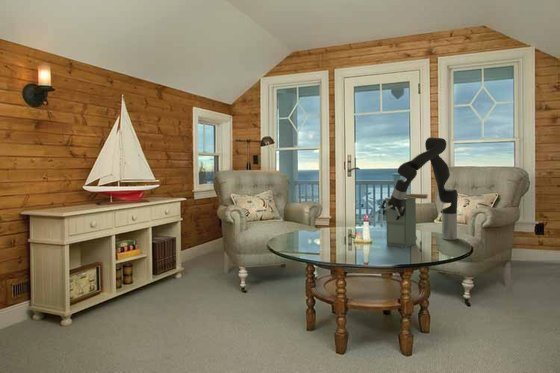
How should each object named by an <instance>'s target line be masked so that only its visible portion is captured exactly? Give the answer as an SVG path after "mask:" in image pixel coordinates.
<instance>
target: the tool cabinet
mask: <svg viewBox="0 0 560 373" xmlns="http://www.w3.org/2000/svg"><path fill="white" fill-rule="evenodd" d="M390 198H391V196H388V197H385V198H384V199H387V200H388V201H389V200H390ZM417 199H418V198H404V200H403V203H402V206H404V207H405V206H406V210H405V213H404V216H400V217H399V220H396V218H397V216H398V213H397V211H396V210H393V209H391V208H389V209H386V212H385V215H386V218H385V219H386V246H389V247H398V248H405V249H407V248H409V247H412V246H414V245H417V239H416V237H417V227H416V226H417V224H416V223H417V214H416V213H417V210H416V208H417V206H416V204H417V202H416V200H417ZM385 205H386V206H387V205H388V203H385ZM386 206H385V207H386ZM400 212H401V213H402V212H403V210H402V208H400Z"/></svg>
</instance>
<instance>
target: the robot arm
mask: <svg viewBox="0 0 560 373" xmlns="http://www.w3.org/2000/svg"><path fill="white" fill-rule="evenodd" d="M424 143H425V144H424V145H425V151H423V152H420V153H418V154H417V155H415V156H414V157H413V158H412V159H411V160H408V161H406V162H403V163H402V164H400V165H399V167H398V169H397V174H398V175H399V176H401V177H403V178H399V179H397V181H396V183H395V186H394V188H393V191H392V192H391V195H390V197H391V198H390V200H389V201H388V200H387V199H385V198H384V200H383V202H382V205H381V207H380V208H381V209H383V210H382V216H385V215H386V209H389V208H391V209H393V210H396V211H397V213H398V216H397V218H396V220H399V217H400V216H404V213H405V210H406V206H405V207H404V206H402V203H403V200H404V198H405V195H406V194H407V192H408V188H409V186H410V185H411V183H412V181H413V180H414V179H415V178H416V176H417V175H418V174H417V173H418V171H419V170H420V169H421V168H423V166H425V165H426V164H427V163H428V162H429V161H430V164H431V167H432V172H433V176H434V179H435V182H436V185H437V191H438V197H439V201H440V202H441V203H443V204H447V203H448V204H450V205H449V206H447V207H443V208H442V210H441V238H442V240H450V241H454V240H455V241H456V240H457V239H458V198H459V197H458V196H459V195H458V190H457V189H455V188H450V189H449V188H445V185H446V184H447V182H448V180H449V179H450V169H449V166H448V164H447V163H446V161H445V160H444V159H443V158H442V157H441V156H440V155H441V154H442V153H444V152H445V151H446V149H447V141H446V139H445V138H441V137H431V136H430V137H428V138H426V140H425V142H424ZM386 203H388V205H387V206H385V205H386ZM400 208H402V210H403V212H402V213H401V212H400Z"/></svg>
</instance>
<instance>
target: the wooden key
mask: <svg viewBox="0 0 560 373" xmlns="http://www.w3.org/2000/svg"><path fill="white" fill-rule="evenodd" d="M428 196H429V195H428V194H426V193H406V195H405V198H417V199H418V200H419V199H421V200H425V199H426V200H427V199H429V198H428Z"/></svg>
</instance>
